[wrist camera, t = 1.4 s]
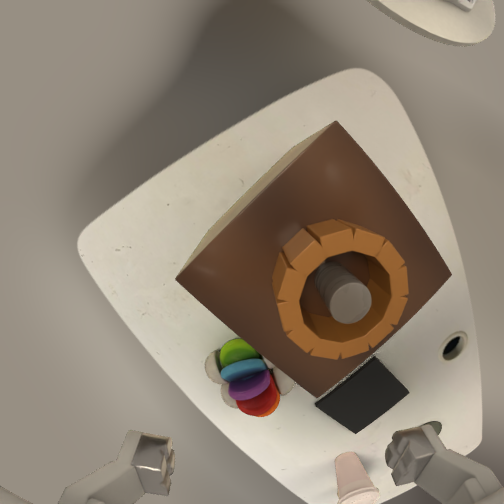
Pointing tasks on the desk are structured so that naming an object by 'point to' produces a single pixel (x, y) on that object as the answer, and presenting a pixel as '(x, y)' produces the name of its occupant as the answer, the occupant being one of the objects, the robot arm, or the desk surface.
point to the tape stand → (328, 272)
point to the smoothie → (354, 481)
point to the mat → (363, 396)
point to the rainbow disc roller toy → (247, 378)
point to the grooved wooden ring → (380, 286)
